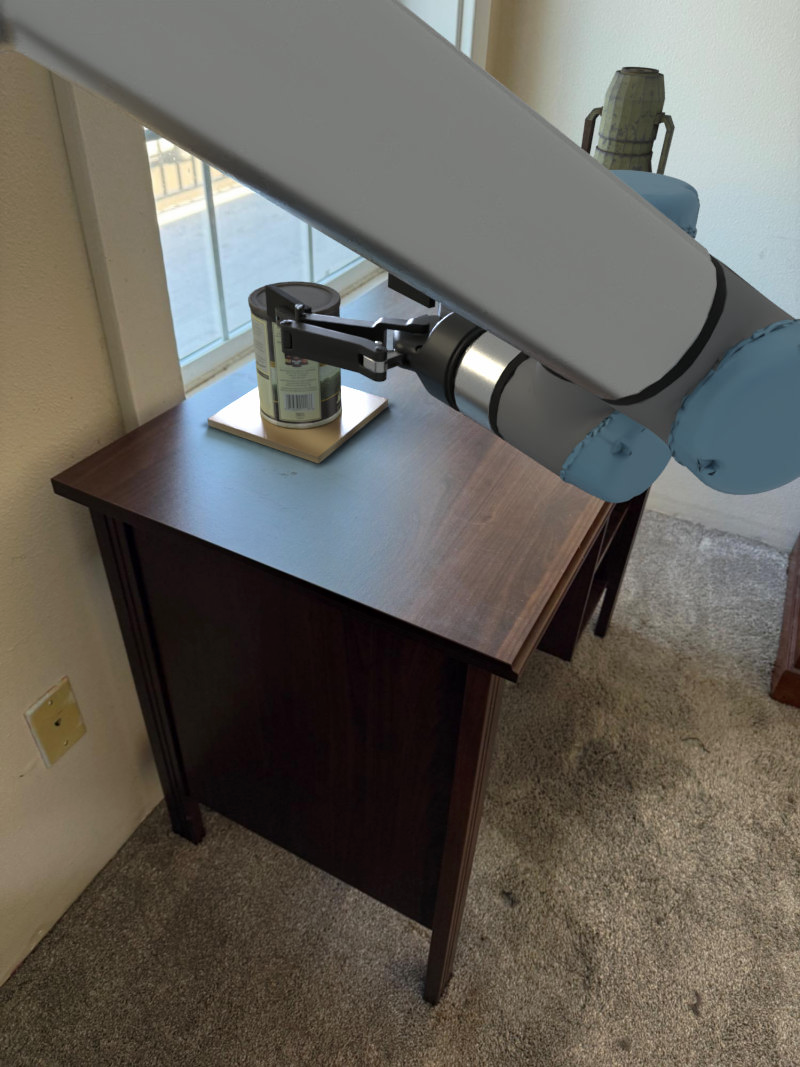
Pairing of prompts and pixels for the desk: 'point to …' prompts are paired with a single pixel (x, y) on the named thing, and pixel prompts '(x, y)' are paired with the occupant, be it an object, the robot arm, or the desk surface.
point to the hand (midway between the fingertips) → (333, 285)
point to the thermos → (630, 121)
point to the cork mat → (299, 442)
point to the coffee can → (294, 364)
